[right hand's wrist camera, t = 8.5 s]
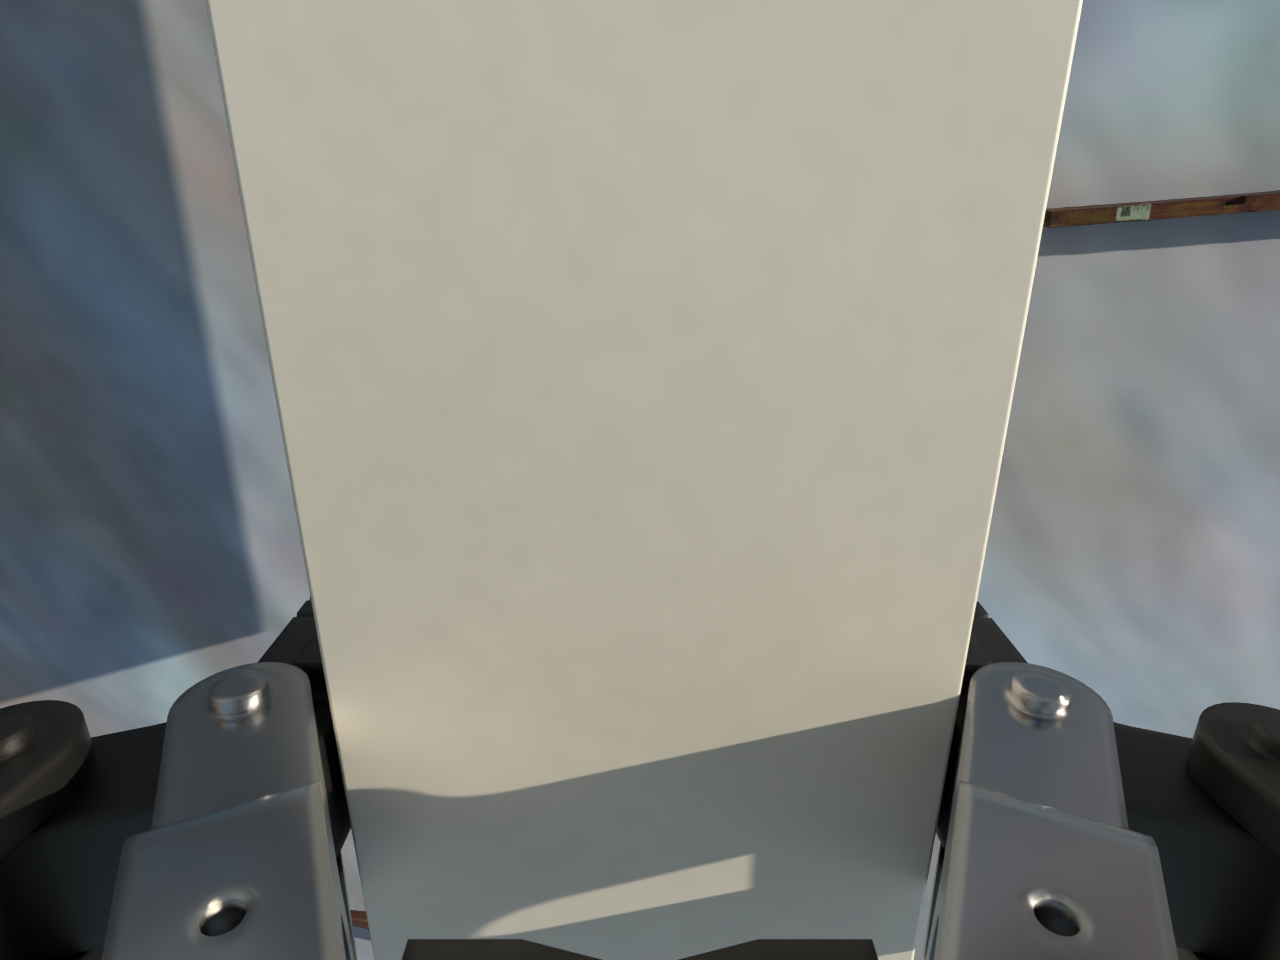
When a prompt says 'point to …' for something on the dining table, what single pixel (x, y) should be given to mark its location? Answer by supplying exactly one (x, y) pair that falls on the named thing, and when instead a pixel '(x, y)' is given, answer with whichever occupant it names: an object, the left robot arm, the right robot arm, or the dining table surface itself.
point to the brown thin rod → (1162, 209)
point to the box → (644, 436)
